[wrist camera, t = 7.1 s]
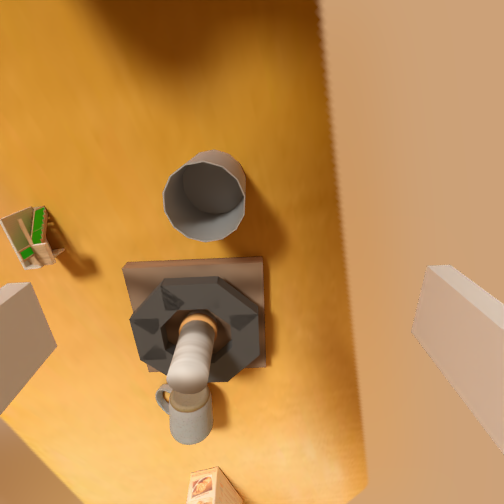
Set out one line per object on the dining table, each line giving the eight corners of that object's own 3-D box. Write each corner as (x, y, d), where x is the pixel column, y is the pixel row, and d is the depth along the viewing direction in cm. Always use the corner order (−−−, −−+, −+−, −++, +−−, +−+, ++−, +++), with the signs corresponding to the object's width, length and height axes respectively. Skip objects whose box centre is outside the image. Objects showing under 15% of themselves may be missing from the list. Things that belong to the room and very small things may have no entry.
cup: (259, 180, 39) (262, 200, 30) (220, 225, 41) (212, 256, 32) (208, 135, 36) (195, 142, 27) (170, 185, 39) (146, 207, 30)
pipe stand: (127, 262, 43) (82, 316, 32) (262, 256, 43) (267, 308, 32) (152, 363, 52) (124, 435, 40) (265, 358, 52) (270, 430, 40)
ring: (126, 279, 41) (120, 287, 39) (256, 274, 40) (257, 281, 39) (150, 375, 48) (146, 385, 46) (260, 370, 48) (261, 380, 46)
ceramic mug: (213, 375, 53) (207, 414, 46) (215, 406, 57) (210, 446, 50) (155, 374, 53) (140, 413, 46) (160, 405, 57) (147, 446, 50)
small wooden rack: (59, 202, 40) (17, 221, 33) (78, 247, 43) (44, 274, 36) (31, 205, 40) (-17, 225, 33) (52, 250, 43) (12, 278, 36)
